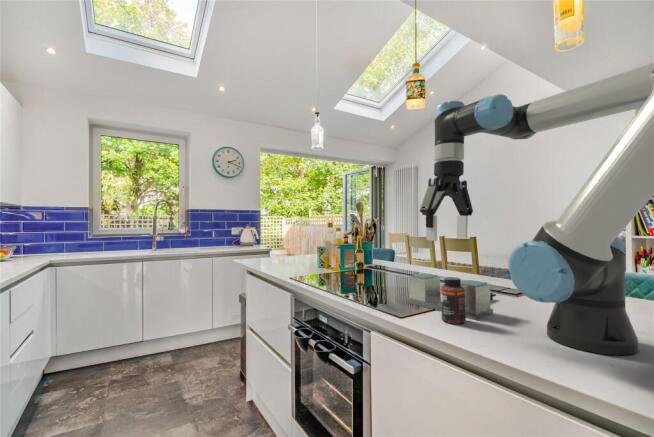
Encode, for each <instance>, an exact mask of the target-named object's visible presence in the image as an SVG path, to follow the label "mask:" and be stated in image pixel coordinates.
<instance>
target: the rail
mask: <svg viewBox="0 0 654 437" xmlns="http://www.w3.org/2000/svg"><path fill="white" fill-rule="evenodd" d="M408 284H409V285H408V288H409V291H408V292H409V294H408V298H406V300H407V302H406V303H407V304H409V305H414V306H416V307H417V306H418V307H422V308H426V309H429V308H430V309H429V310H433V309H435V310H434V311H438V312H441V276H438V275H437V274H432V273H431V274H430V273H419V274H413V275H411V276H409V277H408ZM460 285H461V286H462V287H463V288H464V290H465V316H466V318H465V319H470V320H474V321H478V320H481V319H484V318H487V317H489V316H492V315H494V309H493V308H491V301H490V293H491V283H488V282H486V281H481V280H479V281H478V280H471V279H469V280H465V281H461V284H460Z"/></svg>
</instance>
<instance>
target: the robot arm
mask: <svg viewBox="0 0 654 437" xmlns="http://www.w3.org/2000/svg"><path fill="white" fill-rule="evenodd" d="M637 109H638V111H637V112H636V114H635V115H634V116H633V117H632V119H631V120H630V122H629V123H628V124H627V126H626V127H625V128H624V129H623V131H622V133H621V134H620V135H619V137H618V138H617V139H616V140H615V141H614V143H613V145H612V146H611V147H610V148H609V150H608V151H607V153H606V154H605V155H604V157H603V158H602V159H601V161H600V163H599V164H598V165H597V166H596V168H595V169H594V170H593V172H592V173H591V174H590V176H589V177H588V179H587V180H586V181H585V183H584V184H583V186H582V187H581V188H580V190H578V192H577V193H576V195H575V196H574V197H573V199H572V201H571V202H570V203H569V205H568V206H567V207H566V208H565V210H564V211H563V213H561V215H560V217H559V218H558V219H556V220H551V221H546V222H544V224H542V226H541V227H540V229H539V230H538V232H537V233H536V235H535V236H534V237H533V239H532V240H531V241H530V240H529V241H524V242H523V243H521V244H519V245H518V246H516V247H515V248H514V249H513V250H512V252H511V253H510V255H509V258H508V262H507V263H508V264H507V268H508V269H507V270H508V272H509V275H510V279H511V282H512V283H513V285H514V286H515V287H516V289H517V290H518V291H519V292H520V293H521V294H522V295H524V296H525V297H527V298H529V299H530V300H533V301H535V302H538V303H544V304H545V303H546V304H547V303H548V304H549V303H554V305H553V308H552V310H551V313H550V316H549V318H548V321H547V325H546V335H547V337H548V338H550V339H551V340H553V341H555V342H556V343H559V344H561V345H564V346H566V347H570V348H573V349H576V350H580V351H585V352H590V353H595V354H602V355H608V356H609V355H611V356H612V355H613V356H631V355H634V354H637V353H639V337H637V336H638V335H637V334H636V331H635V329H634V327H633V324H632V323H631V320H630V317H629V315H628V313H627V309H626V259H625V258H626V256H627V254H626V251H625V246H624V241H623V240H622V239H621V238H619V235H620V234H621V233H622V232H623V230H625V229H626V227H627V226H628V225H629V224H630V223H631V221H632V220H633V219H634V218H635V217H636V215H637V214H638V213H640V212H641V210H642V209H643V208H644V207H645V206H646V205H647V204H648V202H649V201H650V200H651V199H652V198H653V196H654V62H652V63H648V64H645V65H641V66H638V67H636V68H633V69H630V70H627V71H625V72H621V73H617V74H614V75H611V76H609V77H606V78H602V79H599V80H597V81H594V82H590V83H586V84H584V85H582V86H578V87H575V88H572V89H568V90H566V91H562V92H560V93H556V94H553V95H550V96H548V97H544V98H542V99H538V100H535V101H532V102H530V103H526V104H522V105H519V106H514V105H513V104H512V101H511V99H508V96H507V95H504V94H502V93H501V94H495V95H491V96H490V95H489V96H487V97H483V98H482V99H479V100H477V101H473V102H471V103H468V104H465V103H464V102H462V101H459V100H449V101H445V102H442V103H440V104H438V105H437V107H436V108H435V114H434V115H435V116H434V122H433V123H434V161H435V163H433V175H434V177H429V178H428V184H427V189H426V191H425V193H424V197H423V199H422V202H421V206H420V208H419V213H421V215H423V216H425V228H426V231H425V232H426V236H425V237H426V239H425V240H426V241H432V242H433V241H437V240H438V236H437V235H438V215H435V214H436V213H437V211H438V209H439V207H440V206H441V204H442V202H443V200H444V198H445V197H449V198H450V199H451V200H452V202H453V204H454V206H455V208H456V210H457V212H458V215H457V216H456V218H457V220H456V221H457V222H456V223H457V224H456V238H457V239H464V240H466V239H468V221H469V220H468V217H469V216H472V214H473V213H474V209H473V206H472V201H471V198H470V193H469V191H468V182H467V180H460V177H461V176H463V175H464V174H465V173H464V170H465V168H464V167H465V166H464V164H465V163H464V161H463V160H464V159H465V137H467V136H468V137H469V136H472V135H475V134H481V133H483V134H489V135H494V136H500V137H503V138H509V139H511V140H528V139H530V138H532V137H533V136H535V135H536V134H537V133H540V132H545V131H549V130H553V129H558V128H561V127H565V126H570V125H575V124H578V123H582V122H586V121H587V122H588V121H590V120H595V119H599V118H604V117H609V116H613V115H617V114H620V113H625V112H629V111H632V110H637Z"/></svg>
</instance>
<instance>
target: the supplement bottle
mask: <svg viewBox="0 0 654 437" xmlns="http://www.w3.org/2000/svg"><path fill="white" fill-rule="evenodd" d="M443 281H444V282H443V283H444V284H443V285H442V286H440V298H441V311H440V312H441V315H440V316H441V320H442V321H443V322H445V323H447V324H451V325H455V324H456V325H460V324H464V323H465V322H466V319H467V318H466V316H465V290H464V288H463V287H462V286H461V285H460V284H461V282H462V281H461V278H459V277H455V276H448V277H447V276H446V277H444V278H443Z"/></svg>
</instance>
